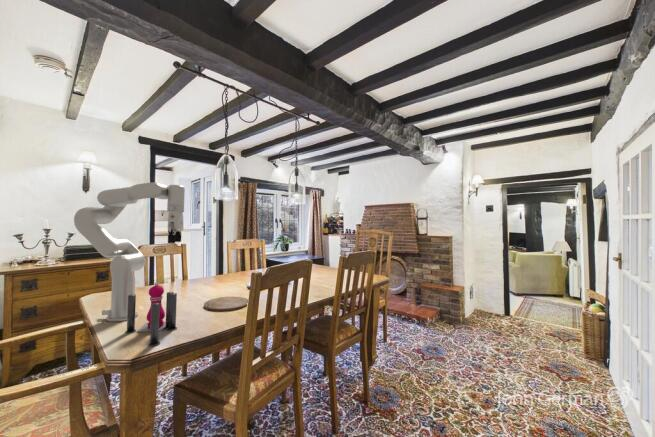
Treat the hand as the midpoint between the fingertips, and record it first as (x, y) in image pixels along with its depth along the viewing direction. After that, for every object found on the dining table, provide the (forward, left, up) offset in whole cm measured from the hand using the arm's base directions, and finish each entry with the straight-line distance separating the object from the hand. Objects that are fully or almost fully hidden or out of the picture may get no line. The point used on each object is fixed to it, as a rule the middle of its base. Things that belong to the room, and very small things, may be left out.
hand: (174, 242), depth 139 cm
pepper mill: (-3, -12, -38) cm, 40 cm away
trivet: (+24, +19, -39) cm, 49 cm away
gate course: (-4, -23, -38) cm, 45 cm away
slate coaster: (-4, -13, -38) cm, 41 cm away
